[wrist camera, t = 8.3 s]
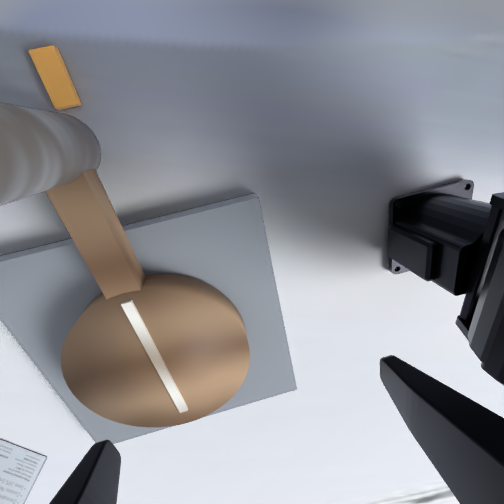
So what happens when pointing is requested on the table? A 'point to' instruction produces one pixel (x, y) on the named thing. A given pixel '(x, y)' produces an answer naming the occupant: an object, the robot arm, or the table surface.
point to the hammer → (123, 290)
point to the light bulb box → (17, 472)
